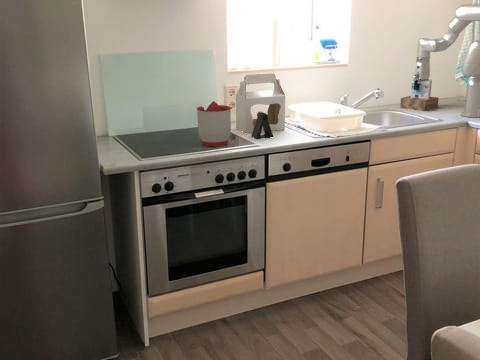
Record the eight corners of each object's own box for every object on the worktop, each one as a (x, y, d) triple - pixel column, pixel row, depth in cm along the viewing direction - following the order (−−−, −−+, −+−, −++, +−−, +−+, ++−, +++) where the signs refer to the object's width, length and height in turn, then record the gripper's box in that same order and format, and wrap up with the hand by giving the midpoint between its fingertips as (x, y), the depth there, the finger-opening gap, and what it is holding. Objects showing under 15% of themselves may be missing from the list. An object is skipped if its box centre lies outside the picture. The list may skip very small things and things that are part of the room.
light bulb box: (410, 98, 335) (411, 80, 331) (412, 96, 340) (414, 78, 337) (428, 99, 330) (430, 81, 326) (430, 97, 335) (432, 79, 332)
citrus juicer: (220, 138, 268) (219, 96, 262) (237, 145, 254) (237, 102, 247) (190, 142, 261) (189, 99, 255) (206, 150, 247) (205, 105, 240)
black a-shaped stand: (268, 135, 273) (268, 110, 270) (273, 137, 268) (273, 112, 264) (251, 136, 270) (251, 112, 266) (256, 139, 265) (256, 114, 261)
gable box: (274, 124, 296) (274, 71, 287) (285, 129, 284) (286, 74, 275) (235, 128, 288) (234, 74, 279) (245, 133, 276) (244, 77, 268)
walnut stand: (437, 107, 337) (438, 97, 335) (424, 111, 326) (425, 100, 324) (413, 104, 348) (414, 94, 346) (400, 107, 337) (400, 97, 335)
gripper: (421, 61, 320) (418, 91, 325) (436, 59, 331) (433, 88, 336) (409, 60, 325) (407, 90, 330) (424, 58, 336) (422, 86, 342)
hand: (420, 89), depth 333 cm, fingers open, 9 cm apart
